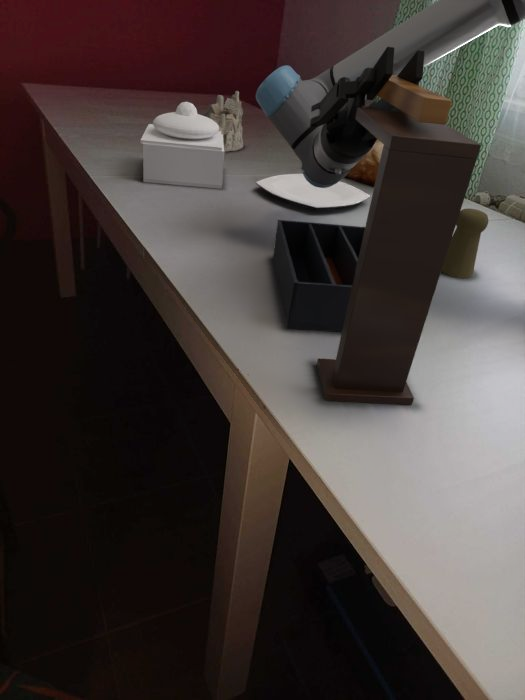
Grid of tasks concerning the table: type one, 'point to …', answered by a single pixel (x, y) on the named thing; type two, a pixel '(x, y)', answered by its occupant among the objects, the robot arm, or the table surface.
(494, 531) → the table surface
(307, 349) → the table surface
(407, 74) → the robot arm
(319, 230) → the slot rack
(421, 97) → the bar
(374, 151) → the ceramic vessel
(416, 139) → the shelf stand
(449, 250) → the cork
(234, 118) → the miniature castle sculpture
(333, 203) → the plate
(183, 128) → the butter dish
